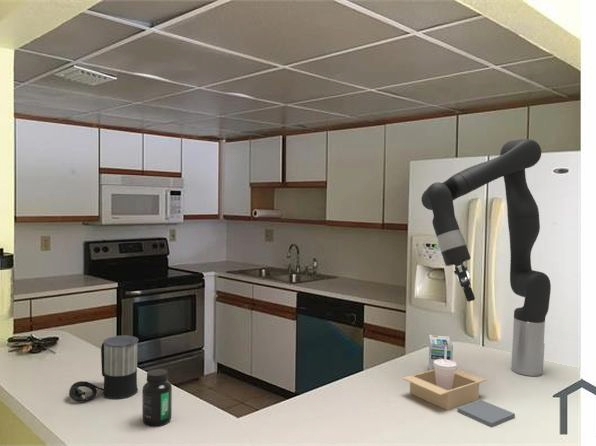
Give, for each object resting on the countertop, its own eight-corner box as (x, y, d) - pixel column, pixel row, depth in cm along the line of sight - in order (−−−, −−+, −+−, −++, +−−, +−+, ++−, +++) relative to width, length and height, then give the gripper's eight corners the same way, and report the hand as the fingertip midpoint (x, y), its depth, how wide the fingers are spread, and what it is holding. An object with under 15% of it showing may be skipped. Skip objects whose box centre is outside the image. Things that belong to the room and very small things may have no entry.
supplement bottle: (172, 425, 117) (172, 376, 116) (141, 428, 115) (142, 378, 114) (171, 413, 123) (171, 366, 123) (142, 416, 121) (142, 368, 121)
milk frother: (145, 390, 137) (145, 338, 136) (101, 412, 123) (101, 354, 122) (108, 380, 143) (108, 331, 142) (61, 400, 129) (61, 345, 128)
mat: (480, 403, 134) (480, 399, 134) (514, 417, 126) (514, 413, 126) (457, 411, 128) (457, 407, 128) (491, 427, 120) (491, 423, 120)
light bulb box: (452, 380, 151) (453, 345, 150) (429, 377, 152) (431, 343, 152) (448, 368, 161) (450, 335, 161) (427, 366, 163) (428, 334, 162)
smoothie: (455, 393, 140) (458, 345, 139) (455, 402, 134) (457, 352, 133) (432, 390, 142) (434, 342, 141) (431, 398, 136) (433, 349, 135)
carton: (447, 381, 149) (447, 365, 149) (485, 397, 138) (486, 379, 138) (401, 395, 138) (402, 377, 138) (439, 413, 127) (440, 394, 127)
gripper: (465, 241, 139) (485, 297, 135) (466, 245, 152) (484, 296, 148) (439, 249, 141) (457, 304, 137) (442, 253, 154) (459, 303, 150)
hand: (471, 300), depth 143 cm, fingers open, 8 cm apart
